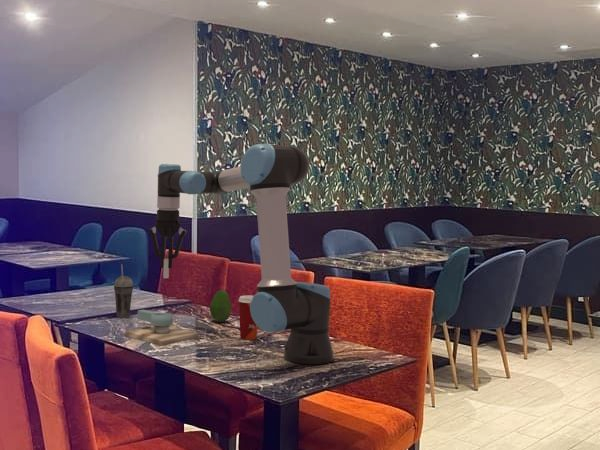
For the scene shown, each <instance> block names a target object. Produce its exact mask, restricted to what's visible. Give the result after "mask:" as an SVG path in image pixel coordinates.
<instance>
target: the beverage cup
mask: <svg viewBox="0 0 600 450" xmlns="http://www.w3.org/2000/svg"><path fill="white" fill-rule="evenodd" d="M120 269H121V270H120V271H121V275H120V276H119V277H117V278H116V279H115V281H114V285H113V290H114V299H115V314H116V318H119V319H128V318H130V314H131V304H132V295H133V290H134V282H133V280H132V278H131V277H129V276H127V275H124V271H123V270H124V267H123V264H122V263H121V264H120Z"/></svg>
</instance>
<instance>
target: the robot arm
mask: <svg viewBox="0 0 600 450" xmlns="http://www.w3.org/2000/svg"><path fill="white" fill-rule="evenodd" d="M309 162H310V161H309V158H308V156H307V155H306V153H305V152H304V151H303V150H301V148H299V147H296V146H293V145H280V144H272V143H257V144H253V145H251V146H250V147H249V148H248V149H246V151H245V153H244V154H243V156H242V157H241V161H240V166H237V167H233V168H231V167H230V168H228V169H223V170H219V171H196V170H182V168H181V165H180V164H174V163H173V164H171V163H161V164H159V165H158V173H157V196H156V197H157V202H156V207H157V210H156V222H155V224H154V227H152V228H149V229H148V233H149V235H150V236H151V237H150V238H151V241H152V246H153V250H154V251H153V252H154V255H155V257H156V258H159V259H160V268H161V269H163V271H162V272H163V276H162V277H163V279H169V278H170V269H172V268H173V260H174V259H176V258H177V257H179V253H180V249H181V246H182V243H183V238H184V237H185V235H186V233H187V230H186V229H183V228H182V227H181V224H180V210H179V209H180V205H181V204H180V203H181V202H180V201H181V200H180V199H181V198H180V197H181V194H186V195H187V194H188V195H203V194H205V195H207V194H209V195H210V194H212V195H213V194H214V195H226V194H227V195H229V194H231V193H232V192H235V191H239V190H244V189H249V191H250V193H251V194H252V195H253V196H254V197H255V200H256V215H257V227H258V228H257V229H258V242H259V257H260V273H261V280H260V281H259V282H258V284H257V285H256V289H257V291H256V294H254V295H252V296H253V298H252V300H251V302H250V312H251V316H252V319H253V321H254V322H255V324H257V325H258V328H259V329H260V330H262V331H264V332H266V333H280V332H283V331H286V330H290V332H289V336H288V339H287V340H286V344H285V347H284V350H283V358H284V360H285V361H288V362H292V363H295V364H300V365H323V364H324V365H325V364H329V363H330V362H332V361H333V360H334V349H333V346H332V342H331V338H330V333H329V331H330V314H331V313H330V312H331V311H330V309H331V289H330V288H329V286H328V285H323V284H320V283H313V282H305V281H296V280H294V279H293V278H292V271H291V269H292V268H291V256H290V255H291V254H290V242H289V241H290V240H289V227H288V214H287V213H288V212H287V200H286V198H287V197H286V196H287V194H288V193H289V192H290V190H291V185H296V184H299V183H300V182H302V181H303V180H305V178H306V177H307V176H308V174H309V171H310V163H309ZM157 232H158V234H159V235H160V241H161V242H160V248H159V243H158V238H157V234H156V233H157ZM177 233H178V234H179V236H178V239H177V242H176V246H175V249H174V236H175V235H176V234H177ZM167 237H168V253H167V255H168V256H167V257H166V247H167V246H166V245H167V243H166V242H167Z"/></svg>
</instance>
